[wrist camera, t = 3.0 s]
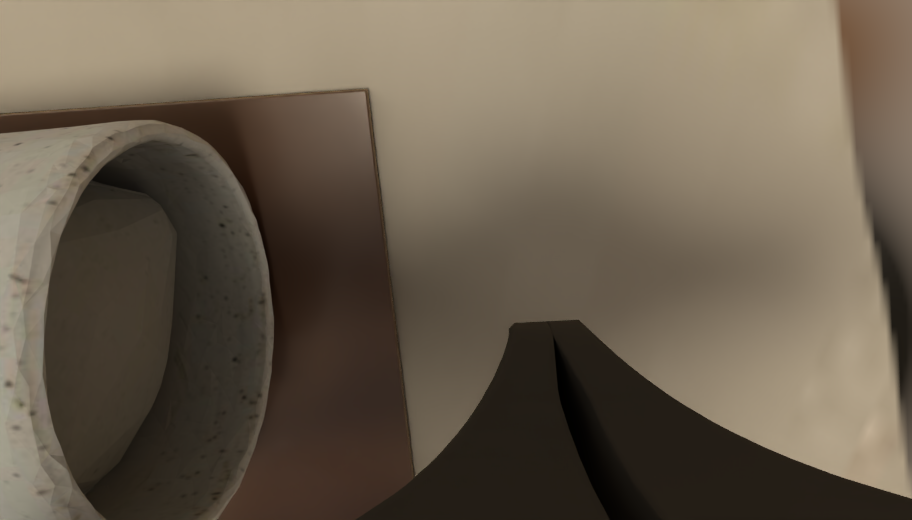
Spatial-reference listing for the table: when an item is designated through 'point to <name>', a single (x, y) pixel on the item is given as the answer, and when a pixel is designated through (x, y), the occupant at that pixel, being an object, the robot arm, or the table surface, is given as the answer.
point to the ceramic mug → (127, 325)
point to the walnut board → (306, 294)
